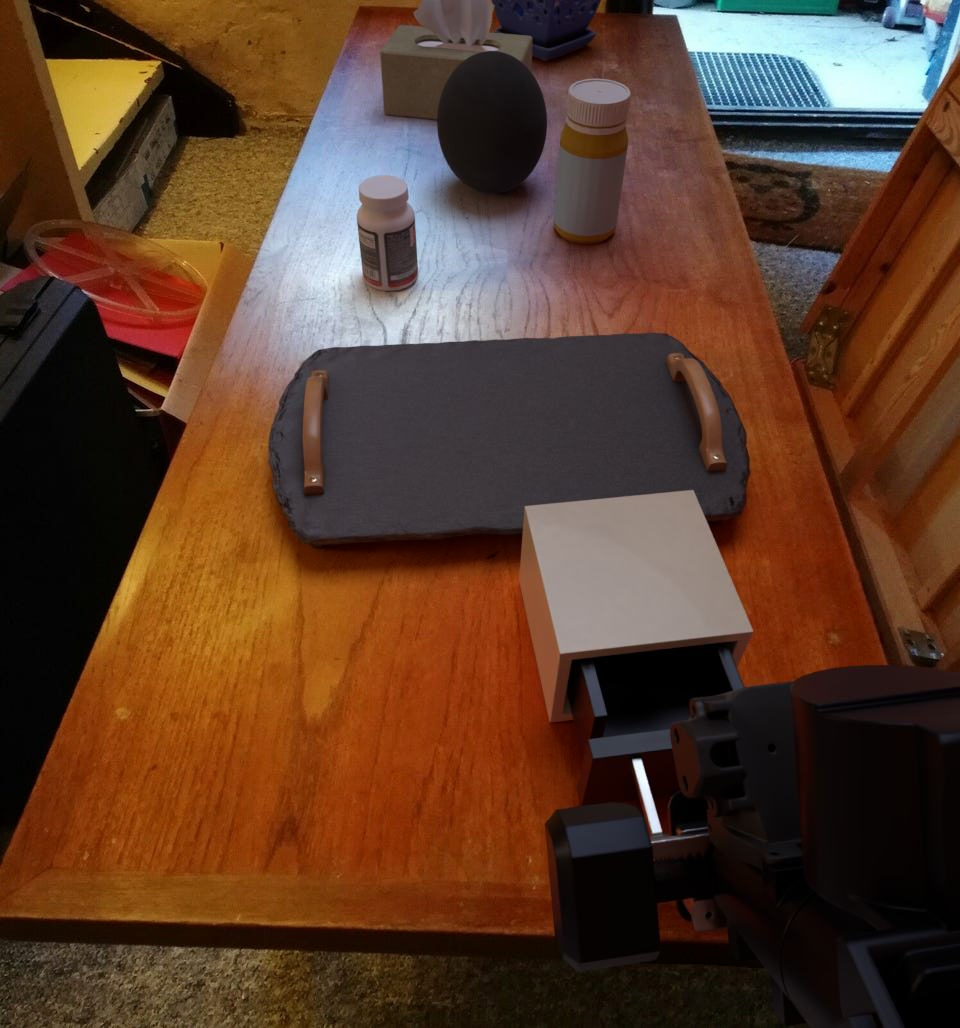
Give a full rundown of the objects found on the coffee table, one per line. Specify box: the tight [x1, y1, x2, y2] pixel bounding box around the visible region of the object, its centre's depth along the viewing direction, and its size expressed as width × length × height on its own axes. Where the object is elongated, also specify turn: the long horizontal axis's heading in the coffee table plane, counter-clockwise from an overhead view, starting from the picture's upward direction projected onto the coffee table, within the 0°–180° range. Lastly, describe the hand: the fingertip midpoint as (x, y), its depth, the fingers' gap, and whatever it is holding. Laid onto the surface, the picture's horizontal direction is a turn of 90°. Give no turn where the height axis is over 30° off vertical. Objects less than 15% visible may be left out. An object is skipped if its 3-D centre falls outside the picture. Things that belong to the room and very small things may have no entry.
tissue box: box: [379, 0, 533, 121], centre depth 111 cm, size 19×10×16 cm, turn 79°
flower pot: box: [491, 0, 602, 62], centre depth 128 cm, size 13×13×12 cm
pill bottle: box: [356, 174, 419, 292], centre depth 85 cm, size 6×6×10 cm
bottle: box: [553, 78, 632, 245], centre depth 90 cm, size 7×7×15 cm
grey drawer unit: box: [518, 490, 754, 723], centre depth 56 cm, size 12×12×8 cm
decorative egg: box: [436, 51, 548, 194], centre depth 96 cm, size 12×12×15 cm
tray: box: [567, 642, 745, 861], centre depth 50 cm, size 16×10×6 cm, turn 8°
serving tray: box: [267, 332, 751, 550], centre depth 70 cm, size 39×23×6 cm, turn 95°
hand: (697, 790), depth 45 cm, fingers closed
